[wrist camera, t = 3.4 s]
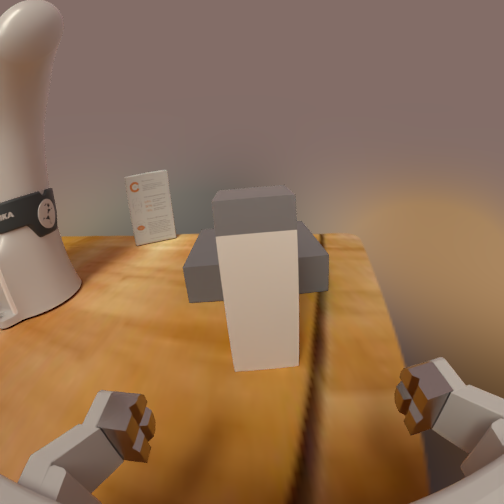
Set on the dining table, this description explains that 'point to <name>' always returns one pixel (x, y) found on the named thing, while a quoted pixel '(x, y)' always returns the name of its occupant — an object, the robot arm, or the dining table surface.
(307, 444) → the dining table surface
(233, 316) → the plug
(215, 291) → the socket block
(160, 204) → the small box
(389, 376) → the dining table surface
